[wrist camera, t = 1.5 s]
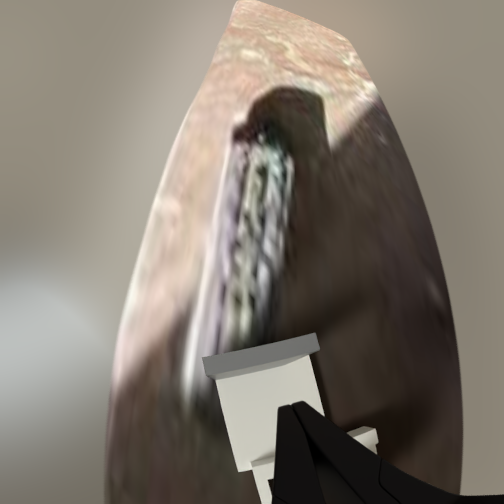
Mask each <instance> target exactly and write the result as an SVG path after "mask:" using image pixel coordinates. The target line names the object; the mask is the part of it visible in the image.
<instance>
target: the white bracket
mask: <svg viewBox="0 0 504 504" xmlns="http://www.w3.org/2000/svg"><path fill="white" fill-rule="evenodd" d="M318 350H320V347H319V344H318V340H317V336H316V333H312V334H308V335H304V336H300V337H296V338H292V339H288V340H284V341H279V342H275V343H271V344H266V345H262V346H257V347H253V348H248V349H243V350H239V351H234V352H229V353H224V354H218V355H213V356H208V357H202V360H203V364H204V369H205V374H206V376H207V377H210V378H212V379H214V380H216V384H217V389H218V393H219V397H220V402H221V406H222V410H223V414H224V418H225V422H226V426H227V430H228V434H229V438H230V442H231V446H232V450H233V454H234V457H235V461H236V465H237V468H238V472H241V471H246V470H251V469H252V470H253V474H254V477H255V481H256V485H257V488H258V492H259V495H260V499H261V502H262V504H271V502H272V495H271V491H270V488H269V484H268V479H273V477H274V462H275V446H276V428H277V410H278V407H280V406H283V405H287V404H290V405H291V404H292V403H295V402H298V401H305V402H306V403H308V404H309V405H310V406H312V407H313V408H314V409H315V410H317V411H318V412H319V413H321V414H322V415H323V416H324V412H323V408H322V404H321V400H320V396H319V392H318V388H317V384H316V380H315V376H314V372H313V368H312V365H311V361H310V357H309V354H312V353H314V352H316V351H318ZM347 434H349V435H350V436H351V437H353V438H354V439H356V440H357V441H358V442H360V443H361V444H363V445H364V446H365V447H367V448H368V449H370V450H371V451H373V452H374V453H375V454H377V450H376V446H375V444H377V443H379V442H378V438H377V433H376V429H375V428H370V427H365V426H363V427H360V428H357V429H355V430H352V431H349V432H347Z"/></svg>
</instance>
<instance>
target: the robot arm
mask: <svg viewBox="0 0 504 504" xmlns="http://www.w3.org/2000/svg"><path fill="white" fill-rule="evenodd" d="M271 504H504V495H485V496H484V495H483V496H463V495H457V494H453V493H449V492H447V491H444V490H442V489H439V488H437V487H435V486H433V485H430V484H428V483H426V482H424V481H421V480H419V479H417V478H415V477H413V476H411V475H409V474H407V473H405V472H403V471H402V470H400V469H398V468H397V467H395V466H393V465H392V464H390V463H389V462H387V461H386V460H384V459H381V457H380V456H378V455H377V454H375V453H374V452H373V451H371V450H370V449H368V448H367V447H365V446H364V445H363V444H361V443H360V442H358V441H357V440H356V439H354V438H353V437H351V436H350V435H349V434H347V433H346V432H345V431H343V430H342V429H341V428H339V427H338V426H336V425H335V424H334V423H332V422H331V421H330V420H328V419H327V418H326V417H325V416H323V415H322V414H321V413H319V412H318V411H317V410H315V409H314V408H313V407H312V406H310V405H309V404H308V403H306V402H305V401H298V402H295V403H292V404H291V405H290V404H287V405H283V406H280V407H278V410H277V428H276V446H275V462H274V477H273V491H272V502H271Z"/></svg>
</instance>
